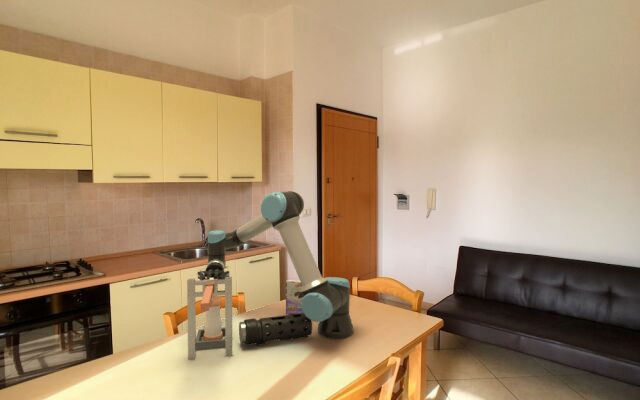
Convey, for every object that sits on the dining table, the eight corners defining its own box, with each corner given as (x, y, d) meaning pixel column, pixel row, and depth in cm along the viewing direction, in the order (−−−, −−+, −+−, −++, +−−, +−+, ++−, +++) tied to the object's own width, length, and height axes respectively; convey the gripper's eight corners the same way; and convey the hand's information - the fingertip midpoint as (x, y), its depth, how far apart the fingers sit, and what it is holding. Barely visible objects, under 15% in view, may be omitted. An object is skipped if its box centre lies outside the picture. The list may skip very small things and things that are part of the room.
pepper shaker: (204, 347, 141) (204, 298, 139) (202, 339, 147) (202, 293, 146) (223, 344, 143) (223, 296, 142) (221, 336, 150) (220, 291, 149)
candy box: (316, 312, 178) (316, 279, 177) (313, 317, 173) (313, 282, 172) (289, 310, 181) (289, 277, 180) (285, 314, 176) (285, 280, 175)
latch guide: (189, 356, 133) (188, 278, 131) (232, 352, 136) (231, 276, 135) (188, 359, 131) (187, 280, 129) (232, 355, 134) (231, 278, 132)
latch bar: (203, 293, 134) (203, 279, 134) (217, 292, 135) (217, 279, 135) (196, 315, 112) (196, 299, 112) (213, 314, 113) (213, 298, 113)
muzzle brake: (312, 341, 147) (312, 316, 146) (241, 352, 137) (241, 325, 136) (305, 332, 156) (305, 308, 155) (238, 341, 146) (238, 316, 145)
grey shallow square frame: (198, 336, 150) (198, 329, 150) (229, 334, 153) (229, 327, 153) (194, 350, 138) (194, 342, 138) (228, 347, 141) (228, 340, 140)
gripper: (230, 278, 159) (228, 295, 136) (199, 279, 157) (191, 297, 134) (230, 261, 159) (228, 275, 136) (199, 262, 156) (191, 276, 133)
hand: (210, 286), depth 135 cm, fingers closed
